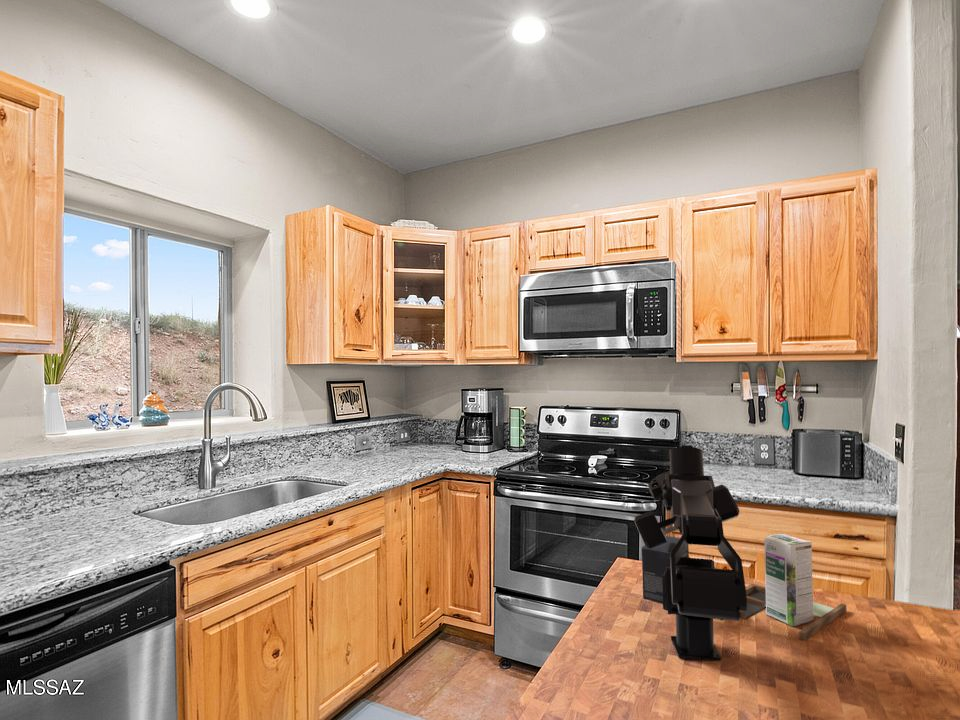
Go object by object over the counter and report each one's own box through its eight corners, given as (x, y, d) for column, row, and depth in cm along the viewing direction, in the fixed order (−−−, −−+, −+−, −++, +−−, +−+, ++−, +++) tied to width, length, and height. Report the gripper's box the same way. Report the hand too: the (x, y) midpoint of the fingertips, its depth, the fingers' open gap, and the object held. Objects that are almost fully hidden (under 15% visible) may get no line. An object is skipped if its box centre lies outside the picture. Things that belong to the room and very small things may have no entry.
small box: (660, 582, 118) (659, 533, 118) (691, 589, 114) (690, 538, 114) (640, 598, 110) (639, 545, 110) (673, 606, 106) (671, 552, 106)
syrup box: (764, 614, 101) (762, 536, 102) (786, 608, 104) (784, 532, 104) (792, 627, 96) (790, 544, 97) (815, 621, 99) (812, 540, 99)
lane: (804, 640, 91) (804, 633, 92) (714, 608, 104) (714, 602, 104) (846, 611, 102) (846, 604, 102) (760, 585, 115) (759, 579, 115)
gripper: (715, 450, 102) (707, 472, 115) (620, 485, 104) (624, 503, 117) (746, 507, 96) (735, 522, 110) (646, 543, 98) (647, 554, 112)
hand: (683, 524), depth 112 cm, fingers open, 9 cm apart
